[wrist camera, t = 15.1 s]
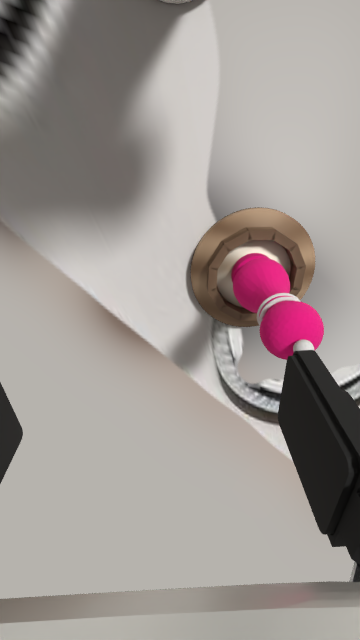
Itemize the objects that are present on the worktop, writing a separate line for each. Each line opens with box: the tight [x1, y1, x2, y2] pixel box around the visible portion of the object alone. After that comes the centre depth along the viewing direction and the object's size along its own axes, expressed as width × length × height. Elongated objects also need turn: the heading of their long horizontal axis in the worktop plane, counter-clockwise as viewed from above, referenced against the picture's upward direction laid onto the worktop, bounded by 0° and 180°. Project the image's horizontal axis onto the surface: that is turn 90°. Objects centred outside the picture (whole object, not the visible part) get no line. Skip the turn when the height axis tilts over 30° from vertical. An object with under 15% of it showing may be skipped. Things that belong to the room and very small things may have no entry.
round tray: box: [191, 208, 315, 327], centre depth 44 cm, size 18×18×3 cm
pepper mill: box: [231, 253, 324, 360], centre depth 36 cm, size 7×7×20 cm
